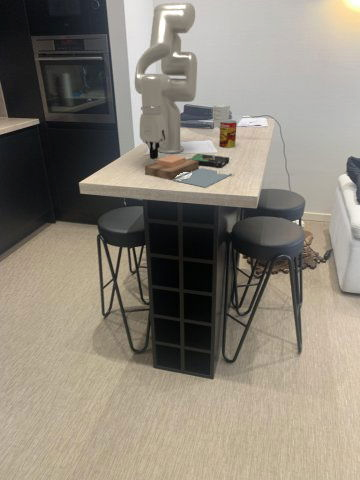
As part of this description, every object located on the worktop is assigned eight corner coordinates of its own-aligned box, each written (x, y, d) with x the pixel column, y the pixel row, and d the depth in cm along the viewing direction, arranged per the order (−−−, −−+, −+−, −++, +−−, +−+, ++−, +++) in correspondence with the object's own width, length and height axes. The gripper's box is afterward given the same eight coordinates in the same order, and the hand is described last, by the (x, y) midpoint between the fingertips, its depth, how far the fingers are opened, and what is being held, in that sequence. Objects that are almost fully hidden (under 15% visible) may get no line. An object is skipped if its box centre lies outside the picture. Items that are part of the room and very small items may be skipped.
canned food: (216, 145, 187) (217, 120, 182) (229, 143, 190) (230, 119, 185) (224, 148, 181) (226, 123, 176) (238, 146, 184) (239, 121, 179)
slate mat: (173, 180, 137) (173, 180, 137) (201, 168, 151) (201, 168, 151) (205, 187, 130) (205, 187, 130) (232, 174, 143) (232, 173, 143)
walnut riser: (145, 174, 145) (144, 166, 143) (173, 163, 158) (172, 156, 156) (172, 179, 138) (171, 172, 137) (198, 168, 151) (198, 161, 150)
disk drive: (229, 163, 160) (197, 159, 165) (229, 157, 159) (197, 153, 164) (221, 169, 151) (187, 165, 157) (221, 163, 150) (187, 158, 156)
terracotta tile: (157, 164, 145) (157, 159, 144) (171, 159, 152) (171, 154, 151) (171, 167, 142) (171, 162, 141) (185, 162, 148) (185, 157, 147)
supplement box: (220, 125, 237) (221, 104, 231) (229, 127, 231) (230, 105, 226) (212, 126, 232) (212, 105, 227) (220, 128, 227) (221, 106, 221)
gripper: (131, 110, 144) (134, 157, 152) (161, 113, 136) (162, 163, 144) (143, 108, 149) (146, 153, 158) (173, 111, 141) (174, 159, 150)
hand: (154, 158), depth 151 cm, fingers closed
